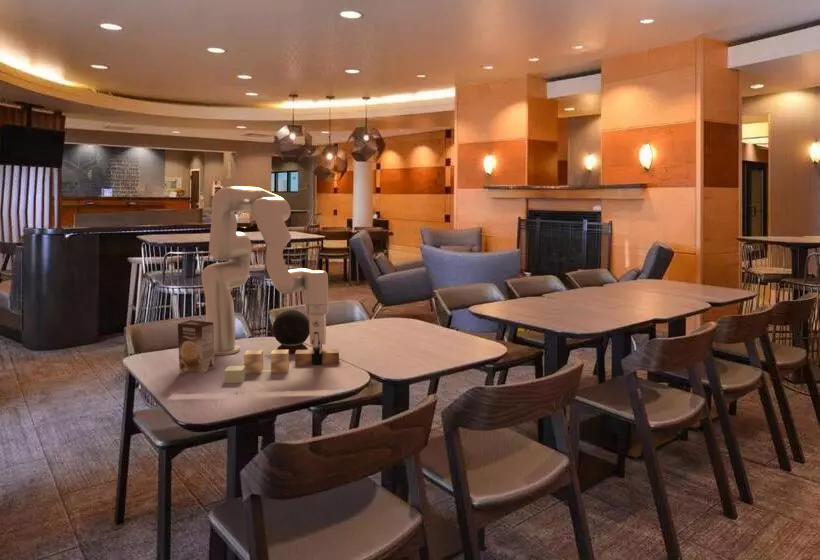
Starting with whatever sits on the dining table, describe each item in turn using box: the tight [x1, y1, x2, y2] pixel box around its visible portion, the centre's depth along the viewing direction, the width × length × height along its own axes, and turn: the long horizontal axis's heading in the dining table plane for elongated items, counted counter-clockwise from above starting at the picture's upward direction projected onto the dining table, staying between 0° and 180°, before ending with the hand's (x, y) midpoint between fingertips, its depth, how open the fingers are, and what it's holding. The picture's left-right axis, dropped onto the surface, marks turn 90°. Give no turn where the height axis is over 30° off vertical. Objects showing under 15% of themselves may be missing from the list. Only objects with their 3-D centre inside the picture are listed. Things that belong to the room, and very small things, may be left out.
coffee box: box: [177, 319, 216, 375], centre depth 189 cm, size 9×6×16 cm
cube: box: [224, 365, 247, 384], centre depth 178 cm, size 5×5×5 cm
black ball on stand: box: [272, 309, 310, 355], centre depth 216 cm, size 13×13×15 cm
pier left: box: [243, 349, 264, 374], centre depth 187 cm, size 5×5×6 cm
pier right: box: [270, 349, 290, 374], centre depth 188 cm, size 5×5×6 cm
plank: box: [294, 348, 340, 366], centre depth 198 cm, size 14×5×5 cm, turn 96°
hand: (317, 362), depth 198 cm, fingers closed on plank, 5 cm apart
